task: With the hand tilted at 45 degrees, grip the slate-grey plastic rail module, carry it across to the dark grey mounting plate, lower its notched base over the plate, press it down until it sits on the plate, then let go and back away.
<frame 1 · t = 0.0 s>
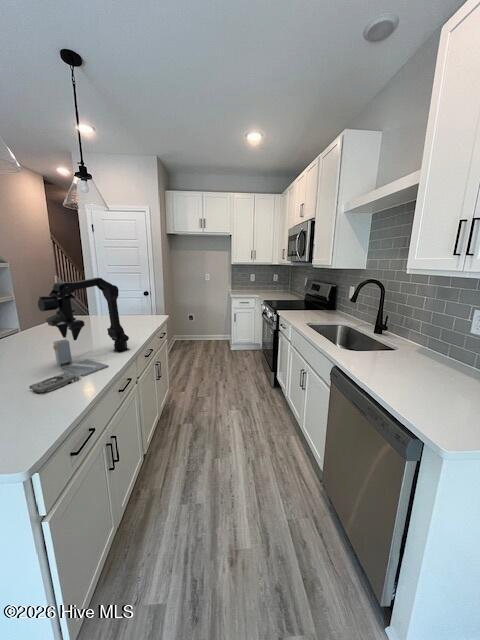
hand: (69, 338, 130), 15 cm above the countertop, tool pointing down, fingers open, 9 cm apart
module: (64, 364, 136), on the countertop
graphics card: (54, 385, 114), on the countertop
grey mounting plate: (83, 369, 129), on the countertop
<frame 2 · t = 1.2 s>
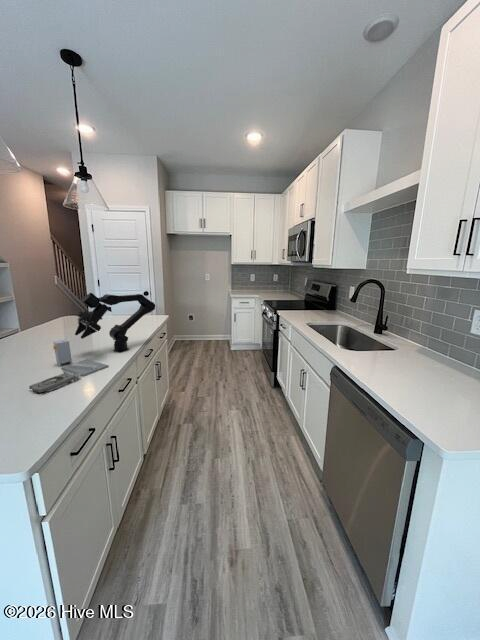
hand: (78, 336, 139), 13 cm above the countertop, tool tilted 45°, fingers open, 9 cm apart
nothing on the countertop moved.
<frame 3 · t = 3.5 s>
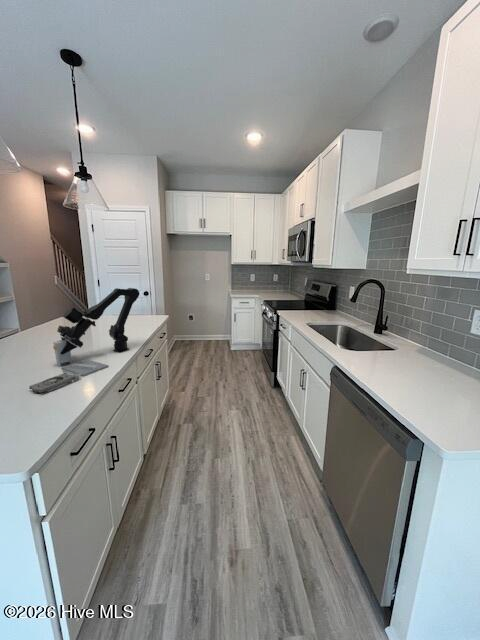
hand: (59, 352, 133), 7 cm above the countertop, tool tilted 45°, fingers closed on module, 5 cm apart
module: (64, 364, 136), on the countertop, touching gripper
everything else where it was.
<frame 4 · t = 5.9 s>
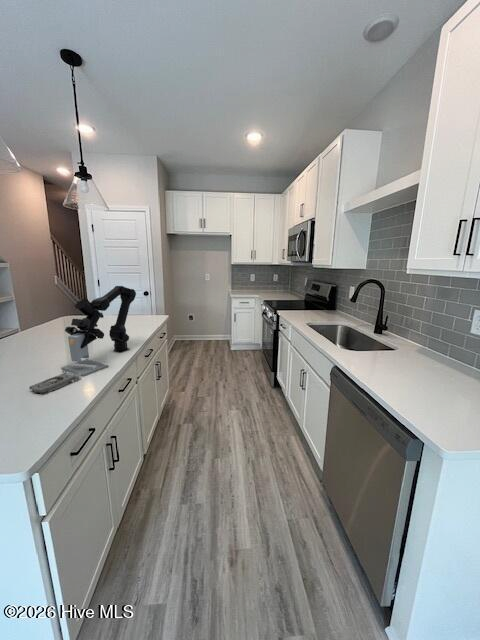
hand: (76, 347, 125), 12 cm above the countertop, tool tilted 45°, fingers closed on module, 5 cm apart
module: (80, 359, 128), point 5 cm above the countertop, touching gripper
everything else where it was.
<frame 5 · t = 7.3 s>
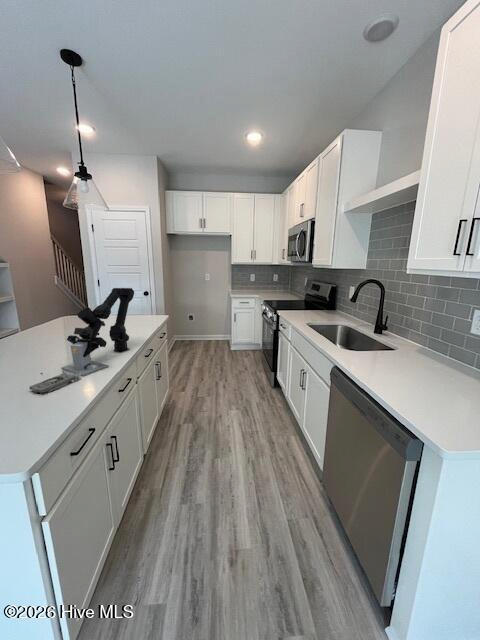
hand: (79, 356, 126), 8 cm above the countertop, tool tilted 45°, fingers closed on module, 5 cm apart
module: (83, 367, 129), point 1 cm above the countertop, touching grey mounting plate, gripper
everything else where it was.
when the fingers open (8 cm above the countertop, at t = 8.3 s): module stays where it is, resting on grey mounting plate.
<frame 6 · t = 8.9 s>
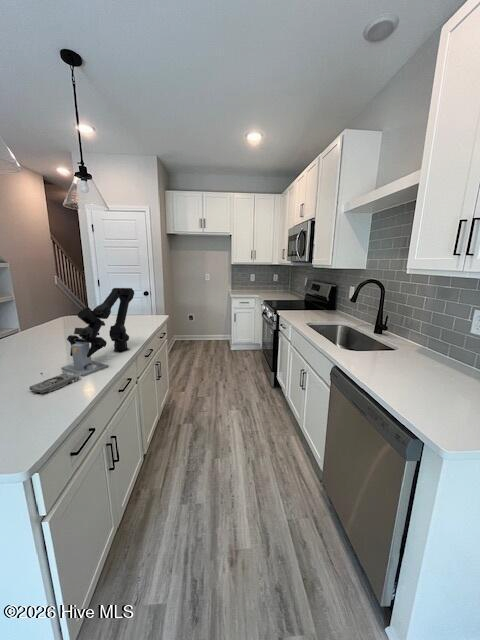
hand: (79, 356, 126), 8 cm above the countertop, tool tilted 45°, fingers open, 9 cm apart
module: (83, 367, 129), point 1 cm above the countertop, touching grey mounting plate
everything else where it was.
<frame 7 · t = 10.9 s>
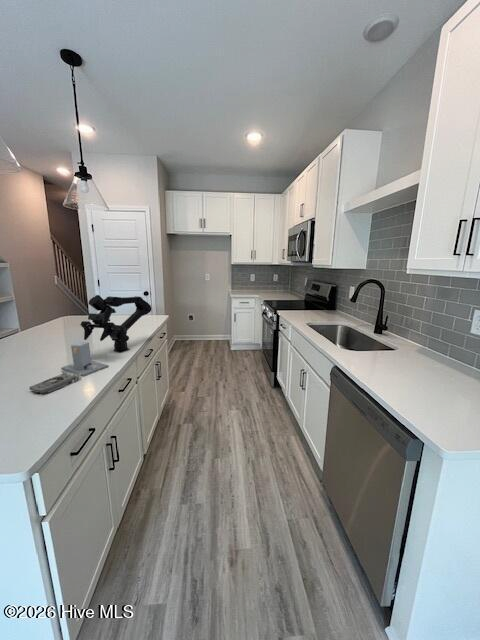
hand: (92, 340, 136), 12 cm above the countertop, tool tilted 45°, fingers open, 9 cm apart
nothing on the countertop moved.
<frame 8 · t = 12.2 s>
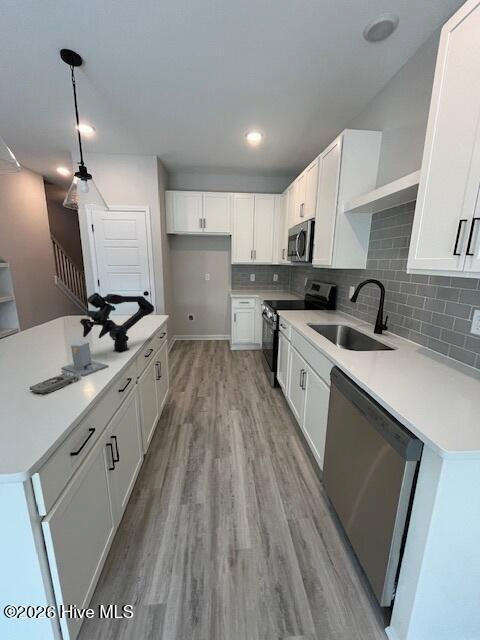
hand: (91, 337, 136), 14 cm above the countertop, tool tilted 45°, fingers open, 9 cm apart
nothing on the countertop moved.
at the end: module 0.1 cm off-centre on the grey mounting plate, point 1.0 cm above the grey mounting plate's base; module tilted 0°; the gripper is holding nothing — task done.
